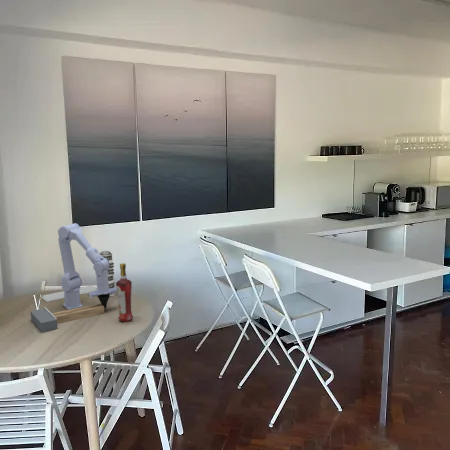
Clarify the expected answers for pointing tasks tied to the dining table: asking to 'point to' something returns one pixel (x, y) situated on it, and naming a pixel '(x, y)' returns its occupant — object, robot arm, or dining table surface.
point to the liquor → (124, 295)
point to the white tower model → (109, 269)
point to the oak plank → (79, 313)
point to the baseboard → (61, 294)
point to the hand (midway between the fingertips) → (104, 308)
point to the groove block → (44, 320)
